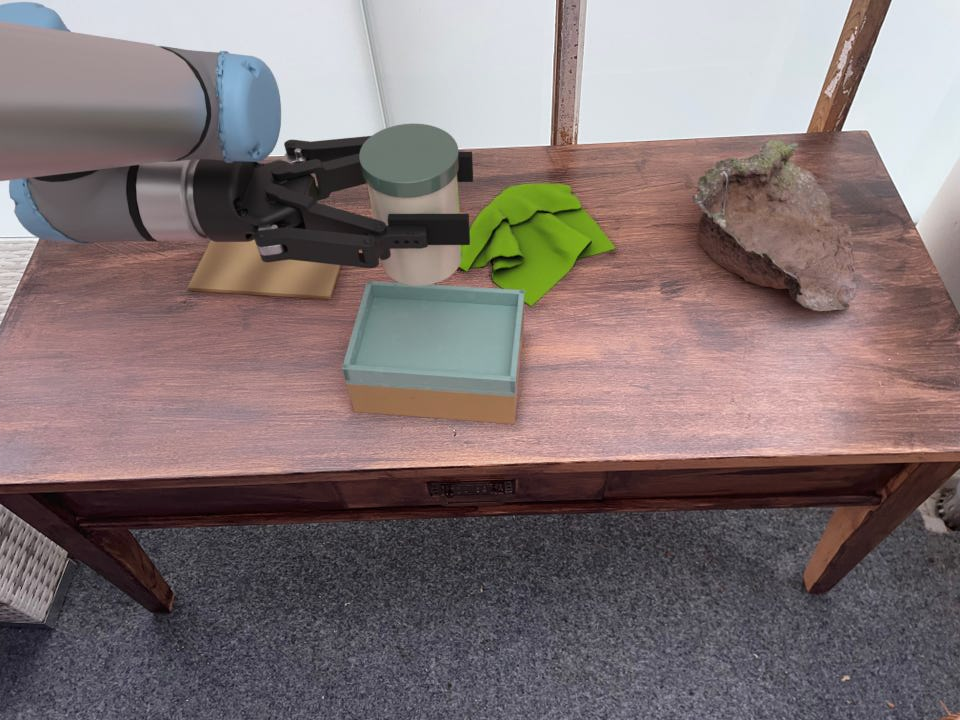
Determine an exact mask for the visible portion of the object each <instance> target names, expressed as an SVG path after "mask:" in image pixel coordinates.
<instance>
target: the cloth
mask: <svg viewBox="0 0 960 720" xmlns="http://www.w3.org/2000/svg"><path fill="white" fill-rule="evenodd" d="M580 201H581V200H580V199H579V198H578V196H576V195H573V194H572V187H571V185H568V184H563V183H551V182H540V183H539V182H538V183H523V184H518V185H509V186H508V187H505V188H504V189H502V190H501V191H500V194H499V195H497V196H495V197H494V199H493V200H492V201H491V202H490V203H489V204H488V205H486V206H485V207H484V208H483V209H482V210H481V211H479V213H478V214H477V216H476V217H475V219H474V221H473V223H472V224H471V226H470V227H469V229H470V245H462V260H461V263H460V265H459V267H458V268H457V269H462V270H463V271H465V272H466V273H468V272H469V270H470V269H477V268H478V269H479V268H480V269H481V268H483V267H486V266H487V265H488V263H489V261H491V260H492V259H493V260H492V264H493V265H492V267H491V269H492V270H491V278H492V279H491V280H492V282H493V284H495V285H497V286H498V287H499V288H500V289H512V290H525V296H524V304H525V305H526V304H527V305H528V306H529V307H533V306H534V305H535V304H537V302H539V301H540V299H542V297H544V296H545V295H546V294H547V293H548V292H549V291H550V290H551V289H552V288H553V287H555V285H557V283H559V282H560V281H561V280H562V279H563V278H564V277H565V276H566V275H567V274H568V273H569V272H570V271H571V270H572V269H573V267H574V265H575V263H576V261H577V260H580V259H584V258H587V257H592V256H597V255H600V254H603V253H606V252H610V251H614V250H616V248H617V247H615V245H614V244H613V242H612V241H611V240H610V239H609V237H608V236H607V235H606V233H605V232H604V231H603V230H602V228H601V227H600V226H599V225H598V223H597V222H596V221H595V220H594V218H593V217H591V216H590V214H588V212H587V211H586V209H584V207H582V204H581V202H580Z"/></svg>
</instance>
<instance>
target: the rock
mask: <svg viewBox="0 0 960 720" xmlns="http://www.w3.org/2000/svg"><path fill="white" fill-rule="evenodd" d="M797 147H799V144H798V143H796V142H795V143H790V144H785V142H784V141H782V140H779V139H771V140H769V141H768V142H767V143H766V142H765V143H763V145H762V146H761V147H760V148H759V153H757V154H753V155H751V156H749V157H747V156H746V157H744V158H743V157H742V158H737V157H732V158H726V159H721V160H720V161H717V162H716V164H715V165H714V166H711V168H709V169H706V170H705V172H704V173H705V175H702V176H700V178H699V180H697V184H696V185H697V186H696V187H697V190H696V192H697V193H695V194H694V195H692V199H693V201H692V202H694V204H697V207H698V208H699V209H700V210H701V212H702V215H701V218H700V220H699V222H698V227H697V231H696V232H697V233H696V240H697V242H698V243H699V244H700V245H701V248H702V250H703V251H704V252H705V253H707V254H708V256H709V257H710V258H711V259H712V260H713V262H715V263H716V264H717V265H719V266H721V267H722V268H724V269H726V270H727V271H728V272H730V273H732V274H736V275H738V276H739V277H741V278H743V279H744V281H745V282H748V283H751V284H755V285H757V286H759V287H765V288H766V287H768V288H769V287H770V288H773V289H775V290H784V289H785V290H786V289H788V293H789V296H790V298H791V299H792V300H794V301H795V302H796V303H798V304H799V305H801V306H802V307H804V308H806V309H810V310H812V311H817V312H831V311H837V310H839V311H842V310H847V309H848V308H850V306H851V305H850V304H849V302H850V301H851V300H852V299H853V298H854V297H856V290H857V287H858V284H857V279H856V275H855V270H856V264H855V257H854V253H853V245H854V241H853V231H852V227H851V226H850V224H848V223H847V222H841V221H837V220H836V219H835V218H834V217H832V215H831V214H832V210H831V206H832V205H831V203H832V202H831V199H830V197H828V196H827V193H826V191H825V190H824V189H823V188H822V185H820V184H819V182H818V180H817V178H816V177H815V175H814V173H812V172H811V171H810V170H808V169H804V168H803V167H801V166H799V165H797V164H795V163H793V162H790V161H789V160H790V159H791V158H794V157H793V156H794V153H793V152H796V151H797V149H796V148H797Z"/></svg>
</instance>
